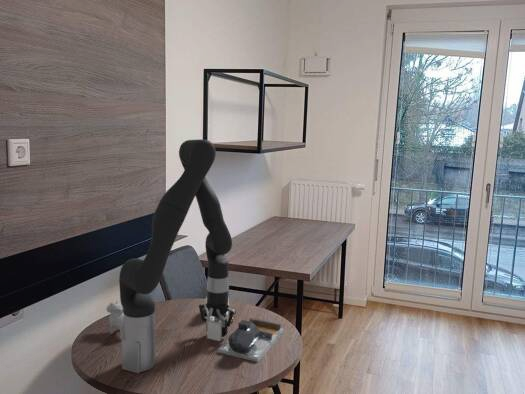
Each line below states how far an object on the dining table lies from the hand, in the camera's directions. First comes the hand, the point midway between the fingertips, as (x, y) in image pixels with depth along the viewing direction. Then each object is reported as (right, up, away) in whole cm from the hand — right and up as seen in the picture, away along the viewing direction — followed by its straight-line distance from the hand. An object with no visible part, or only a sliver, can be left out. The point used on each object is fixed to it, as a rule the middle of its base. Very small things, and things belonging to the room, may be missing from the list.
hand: (216, 334), depth 168 cm
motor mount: (+13, -2, -3) cm, 13 cm away
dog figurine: (-35, 0, 0) cm, 35 cm away
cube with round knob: (0, -1, 0) cm, 1 cm away
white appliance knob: (-2, +2, +21) cm, 21 cm away
